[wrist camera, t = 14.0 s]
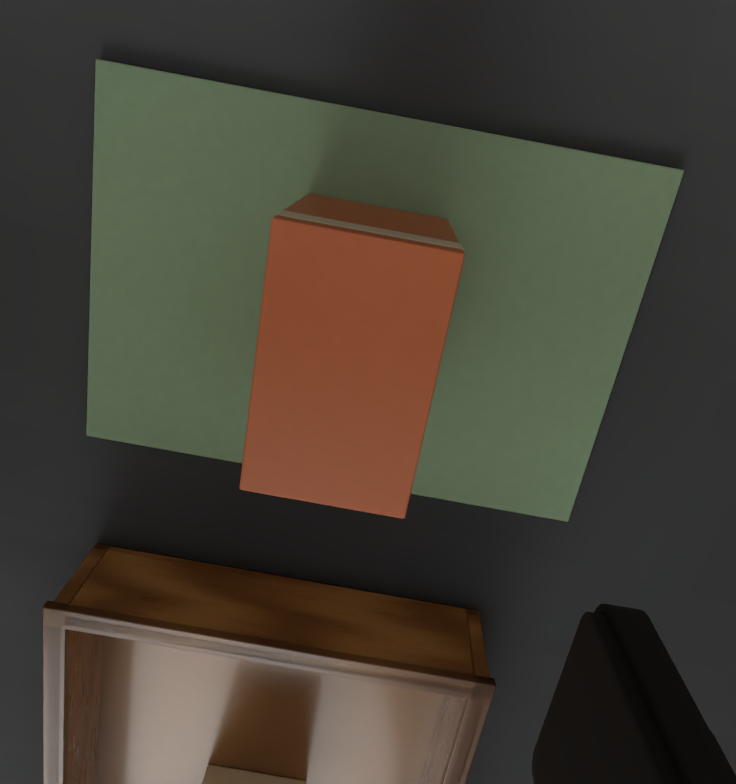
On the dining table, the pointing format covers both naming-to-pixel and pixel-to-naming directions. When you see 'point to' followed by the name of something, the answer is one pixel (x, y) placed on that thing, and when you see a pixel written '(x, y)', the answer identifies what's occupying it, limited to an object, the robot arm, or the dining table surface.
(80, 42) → the dining table surface
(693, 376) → the dining table surface
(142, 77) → the mat
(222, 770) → the block
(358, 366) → the block
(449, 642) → the wooden tray
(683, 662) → the dining table surface
